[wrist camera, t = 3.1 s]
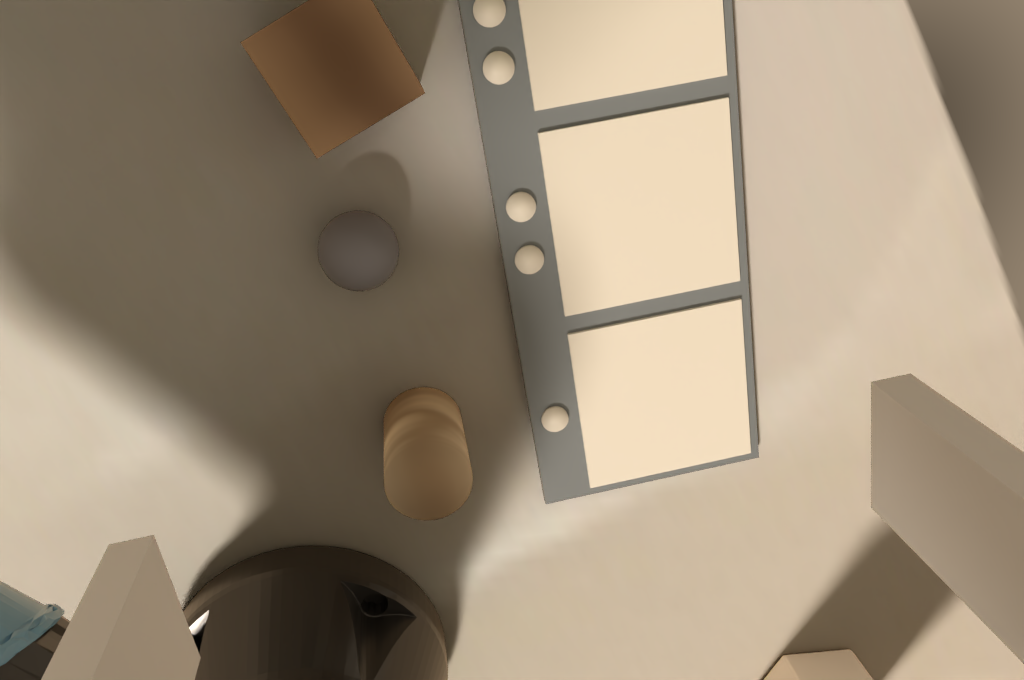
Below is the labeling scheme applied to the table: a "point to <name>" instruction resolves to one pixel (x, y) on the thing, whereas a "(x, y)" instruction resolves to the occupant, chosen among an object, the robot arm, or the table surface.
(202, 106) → the table surface
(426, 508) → the beech cylinder
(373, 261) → the charcoal ball
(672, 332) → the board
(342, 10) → the walnut block
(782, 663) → the jar
